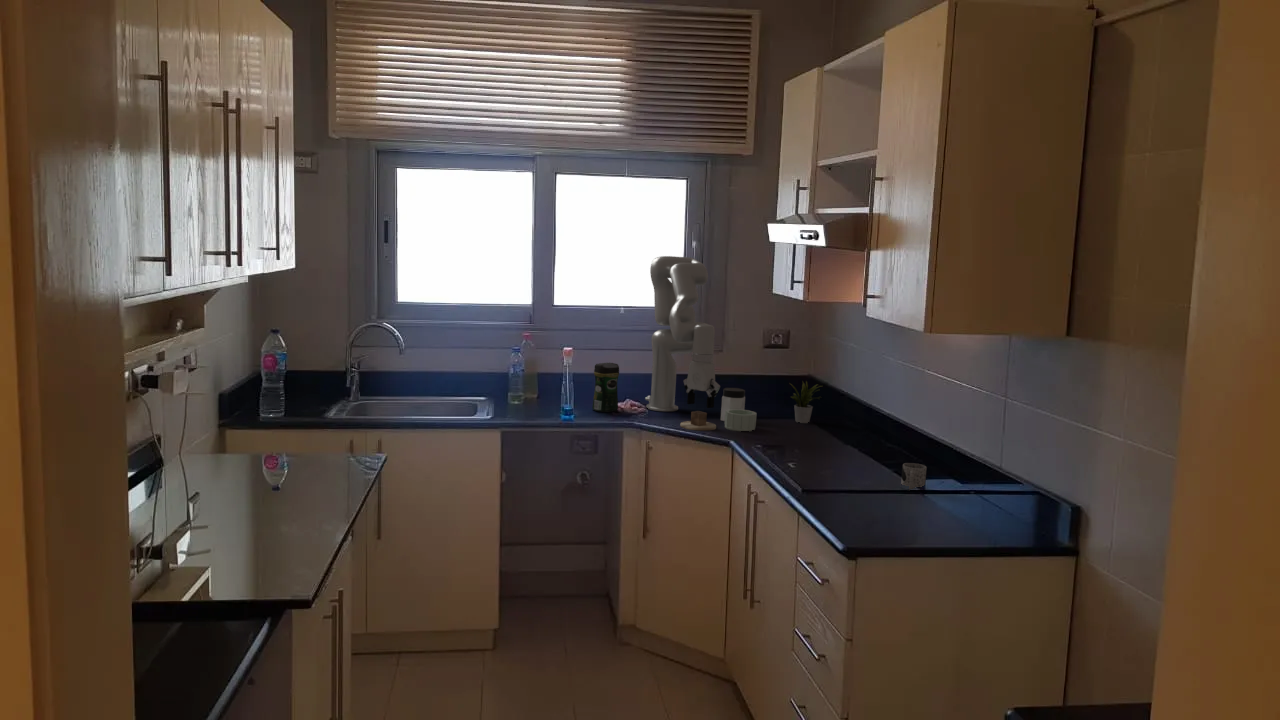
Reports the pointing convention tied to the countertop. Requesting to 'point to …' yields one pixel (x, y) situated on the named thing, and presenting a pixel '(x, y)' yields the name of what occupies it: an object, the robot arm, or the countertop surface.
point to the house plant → (803, 403)
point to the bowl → (740, 420)
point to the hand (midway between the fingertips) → (700, 405)
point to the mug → (913, 475)
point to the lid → (698, 422)
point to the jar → (732, 400)
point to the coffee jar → (606, 387)
